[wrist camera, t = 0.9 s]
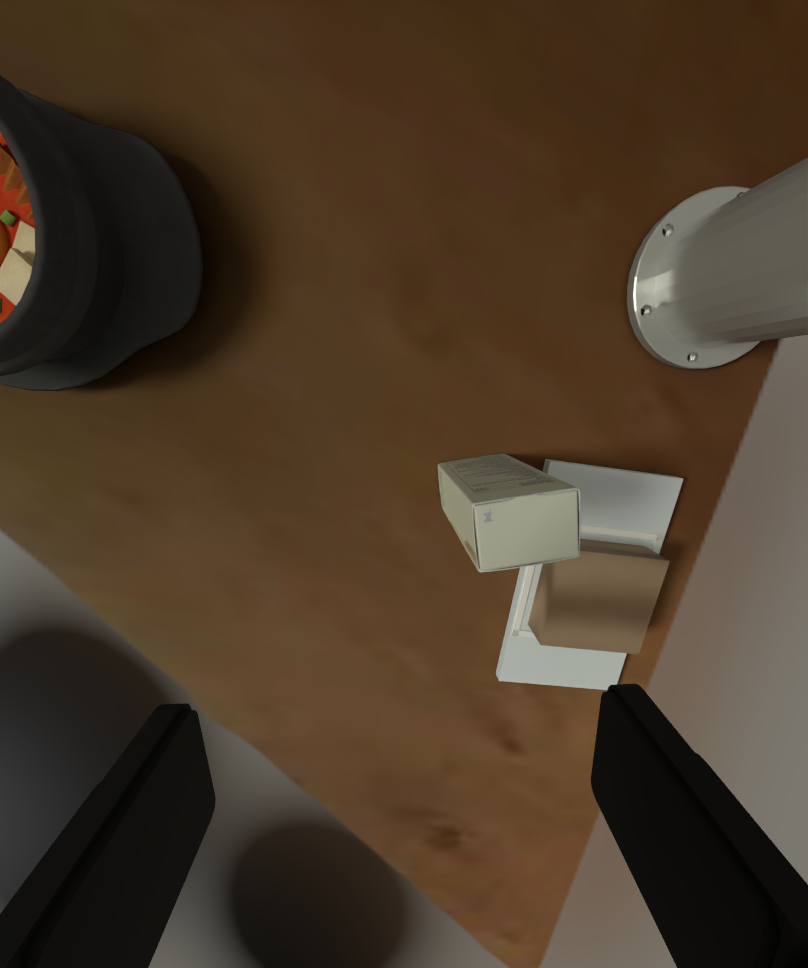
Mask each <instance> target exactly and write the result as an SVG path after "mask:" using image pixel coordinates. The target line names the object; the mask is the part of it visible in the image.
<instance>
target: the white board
mask: <svg viewBox="0 0 808 968" xmlns="http://www.w3.org/2000/svg"><path fill="white" fill-rule="evenodd" d="M543 472H544V473H547V474H549V475H551V476H553V477H555V478H557V479H559V480H561V481H564V482H566V483H568V484H570V485H572V486H574V487H576V488H578V489H579V490H580V491H581V520H580V521H581V529H580V539H587V540H596V541H604V542H613V543H621V544H630V545H638V546H646V547H647V548H649V549H651V550H652V551H654V552H656V553H657V554H659V553H660V550H661V547H662V544H663V541H664V538H665V534H666V531H667V528H668V525H669V522H670V519H671V516H672V513H673V510H674V507H675V504H676V501H677V498H678V494H679V491H680V488H681V485H682V482H683V479H682V478H679V477H676V476H669V475H662V474H654V473H647V472H639V471H632V470H624V469H617V468H609V467H602V466H594V465H587V464H579V463H572V462H564V461H557V460H549V459H545V463H544V467H543ZM541 568H542V564H539V565H533V566H527V567H520V571H519V575H518V580H517V584H516V588H515V592H514V597H513V601H512V605H511V610H510V614H509V618H508V623H507V627H506V631H505V636H504V640H503V644H502V649H501V653H500V657H499V661H498V666H497V670H496V675H497V678H498V680H499V681H508V682H520V683H531V684H543V685H555V686H566V687H578V688H589V689H601V690H608V687H609V686H610V685H617V682H618V679H619V676H620V673H621V670H622V667H623V664H624V661H625V658H626V655H627V653H618V652H608V651H597V650H586V649H576V648H565V647H555V646H544V645H540V644H539V642H538V640H537V639H536V637H535V635H534V634H533V632H532V630H531V629H530V627H529V625H528V621H529V617H530V613H531V609H532V605H533V601H534V597H535V593H536V589H537V585H538V581H539V577H540V572H541Z"/></svg>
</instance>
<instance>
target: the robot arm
mask: <svg viewBox="0 0 808 968" xmlns="http://www.w3.org/2000/svg"><path fill="white" fill-rule="evenodd" d="M627 308H628V313H629V319H630V322H631V325H632V328H633V330H634V333H635V335H636V337H637V338H638V340H639V341H640V343H641V344H642V346H643V347H644V348H645V349H646V350H647V351H648V352H649V353H650V354H651V355H652V356H653V357H655V358H656V359H658V360H660V361H661V362H663V363H665V364H668V365H671V366H674V367H677V368H684V369H702V368H710V367H715V366H720V365H723V364H726V363H728V362H731V361H733V360H736V359H737V358H739V357H740V356H742V355H744V354H745V353H747V352H749V351H750V350H751V349H752V348H754V347H755V346H756V345H757V344H758V343H759V342H760V341H764V340H771V339H779V338H786V337H794V336H800V335H808V158H806V159H804V160H802V161H801V162H799V163H797V164H795V165H793V166H792V167H790V168H788V169H786V170H784V171H783V172H781V173H779V174H777V175H775V176H774V177H772V178H770V179H768V180H766V181H765V182H763V183H761V184H759V185H757V186H756V187H754V188H752V189H749V188H745V187H737V186H724V187H715V188H712V189H709V190H706V191H703V192H699V193H698V194H696V195H694V196H692V197H690V198H688V199H687V200H685V201H683V202H682V203H680V204H679V205H677V206H676V207H674V208H673V209H671V210H670V211H668V212H667V213H666V214H665V215H664V216H663V217H662V218H661V219H660V220H659V221H658V222H657V223H656V224H655V225H654V226H653V228H652V229H651V230H650V232H649V233H648V234H647V236H646V237H645V238H644V240H643V242H642V244H641V246H640V248H639V250H638V251H637V253H636V256H635V258H634V261H633V264H632V267H631V270H630V274H629V280H628V286H627ZM591 786H592V790H593V793H594V796H595V799H596V801H597V803H598V805H599V807H600V809H601V811H602V813H603V815H604V818H605V820H606V822H607V824H608V826H609V828H610V830H611V832H612V834H613V836H614V838H615V840H616V842H617V844H618V846H619V848H620V851H621V852H622V855H623V856H624V859H625V861H626V863H627V865H628V867H629V869H630V871H631V873H632V875H633V877H634V879H635V881H636V884H637V886H638V888H639V890H640V892H641V894H642V896H643V898H644V900H645V902H646V904H647V906H648V908H649V910H650V912H651V914H652V916H653V919H654V921H655V922H656V925H657V927H658V929H659V931H660V933H661V935H662V937H663V939H664V941H665V943H666V945H667V948H668V949H669V952H670V954H671V956H672V958H673V960H674V962H675V964H676V966H677V968H808V885H807V883H806V882H805V881H804V880H803V879H802V877H801V876H800V875H799V874H798V872H797V871H796V870H795V869H794V868H793V867H792V865H791V864H790V863H789V862H788V860H787V859H786V858H785V857H784V856H783V855H782V853H781V852H780V851H779V850H778V848H777V847H776V846H775V845H774V843H773V842H772V841H771V840H770V839H769V838H768V836H767V835H766V834H765V833H764V831H763V830H762V829H761V828H760V827H759V825H758V824H757V823H756V822H755V821H754V819H753V818H752V817H751V816H750V814H749V813H748V812H747V811H746V810H745V808H744V807H743V806H742V805H741V804H740V802H739V801H738V800H737V799H736V797H735V796H734V795H733V794H732V793H731V791H730V790H729V789H728V788H727V787H726V785H725V784H724V783H723V782H722V781H721V779H720V778H719V777H718V776H717V774H716V773H715V772H714V771H713V770H712V769H711V767H710V766H709V765H708V764H707V762H706V761H704V759H703V758H701V756H700V755H698V754H697V753H695V752H694V751H693V750H692V749H691V747H690V746H689V745H688V744H687V743H686V742H685V740H684V739H683V738H682V736H681V735H680V734H679V733H678V731H677V730H676V729H675V728H674V727H673V726H672V724H671V723H670V722H669V721H668V720H667V718H666V717H665V716H664V714H663V713H662V712H661V711H660V710H659V708H658V707H657V706H656V705H655V703H654V702H653V701H652V700H651V698H650V697H649V696H648V695H647V694H646V692H645V691H644V690H643V689H642V688H641V687H640V686H639V685H637V684H618V685H610V686H609V687H608V690H607V692H603V693H602V696H601V703H600V711H599V719H598V727H597V735H596V742H595V750H594V758H593V766H592V774H591ZM214 807H215V793H214V789H213V783H212V779H211V774H210V770H209V765H208V760H207V756H206V751H205V746H204V741H203V737H202V732H201V727H200V723H199V718H198V714H197V712H196V711H195V710H191V707H190V705H189V704H165V705H160V706H158V707H157V708H156V709H155V710H154V711H153V713H152V714H151V715H150V717H149V718H148V719H147V721H146V722H145V723H144V725H143V726H142V727H141V729H140V730H139V731H138V733H137V734H136V735H135V737H134V738H133V740H132V741H131V742H130V744H129V745H128V746H127V748H126V749H125V750H124V752H123V753H122V754H121V756H120V757H119V758H118V760H117V761H116V763H115V764H114V765H113V766H112V768H111V769H110V771H109V772H108V773H107V775H106V776H105V778H104V779H103V780H102V781H101V782H100V783H99V784H98V785H97V786H96V787H95V789H94V790H93V791H92V792H91V793H90V795H89V796H88V797H87V799H86V800H85V801H84V803H83V804H82V805H81V807H80V808H79V809H78V811H77V812H76V814H75V815H74V816H73V817H72V819H71V820H70V821H69V823H68V824H67V825H66V827H65V828H64V829H63V831H62V832H61V833H60V835H59V836H58V837H57V839H56V840H55V842H54V843H53V844H52V846H51V847H50V848H49V850H48V851H47V852H46V853H45V855H44V856H43V858H42V859H41V860H40V862H39V863H38V864H37V866H36V867H35V868H34V870H33V871H32V872H31V874H30V875H29V876H28V878H27V879H26V880H25V882H24V883H23V884H22V886H21V887H20V888H19V890H18V891H17V893H16V894H15V895H14V896H13V898H12V899H11V900H10V902H9V903H8V904H7V906H6V907H5V908H4V910H3V911H2V912H1V914H0V968H148V967H149V965H150V962H151V960H152V957H153V955H154V953H155V950H156V948H157V946H158V943H159V941H160V938H161V936H162V934H163V931H164V929H165V927H166V924H167V922H168V920H169V917H170V915H171V913H172V910H173V908H174V906H175V903H176V900H177V898H178V896H179V894H180V891H181V889H182V887H183V884H184V882H185V880H186V877H187V875H188V872H189V870H190V868H191V866H192V863H193V861H194V858H195V856H196V854H197V851H198V849H199V847H200V844H201V842H202V840H203V837H204V835H205V833H206V830H207V827H208V825H209V823H210V821H211V818H212V815H213V812H214Z"/></svg>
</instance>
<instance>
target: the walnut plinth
mask: <svg viewBox="0 0 808 968" xmlns="http://www.w3.org/2000/svg"><path fill="white" fill-rule="evenodd" d="M669 562H670V561H669V560H667V559H666V558H664V557H662V556H661V555H659V554H657V553H656V552H654V551H652V550H651V549H649V548H647V547H646V546H638V545H630V544H621V543H613V542H604V541H596V540H587V539H580V556H579V557H577V558H571V559H566V560H561V561H556V562H550V563H545V564H542V568H541V572H540V577H539V581H538V585H537V589H536V593H535V597H534V601H533V605H532V609H531V613H530V617H529V621H528V625H529V627H530V629H531V630H532V632H533V634H534V635H535V637H536V639H537V640H538V642H539V644H540V645H544V646H555V647H565V648H576V649H586V650H597V651H608V652H618V653H629V654H639V652H640V649H641V646H642V643H643V640H644V637H645V634H646V631H647V628H648V625H649V622H650V619H651V616H652V613H653V610H654V607H655V604H656V601H657V598H658V595H659V592H660V589H661V586H662V583H663V580H664V577H665V574H666V571H667V568H668V565H669Z"/></svg>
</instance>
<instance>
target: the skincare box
mask: <svg viewBox="0 0 808 968" xmlns="http://www.w3.org/2000/svg"><path fill="white" fill-rule="evenodd" d="M438 477H439V488H440V496H441V503H442V508H443V510H444V512H445V514H446V516H447V518H448V519H449V521H450V523H451V524H452V526H453V528H454V530H455V531H456V533H457V535H458V537H459V539H460V540H461V542H462V544H463V546H464V547H465V549H466V551H467V553H468V554H469V556H470V558H471V559H472V561H473V563H474V565H475V566H476V568H477V570H478V571H479V572H491V571H500V570H507V569H514V568H520V567H527V566H533V565H539V564H545V563H550V562H556V561H561V560H566V559H571V558H577V557H579V556H580V529H581V521H580V520H581V491H580V490H579V489H578V488H576V487H574V486H572V485H570V484H568V483H566V482H564V481H561V480H559V479H557V478H555V477H553V476H551V475H549V474H547V473H544V472H542V471H540V470H538V469H536V468H534V467H532V466H530V465H527V464H525V463H523V462H521V461H519V460H517V459H515V458H513V457H511V456H509V455H506V454H498V455H489V456H481V457H474V458H468V459H461V460H455V461H450V462H444V463H439V464H438Z"/></svg>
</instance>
